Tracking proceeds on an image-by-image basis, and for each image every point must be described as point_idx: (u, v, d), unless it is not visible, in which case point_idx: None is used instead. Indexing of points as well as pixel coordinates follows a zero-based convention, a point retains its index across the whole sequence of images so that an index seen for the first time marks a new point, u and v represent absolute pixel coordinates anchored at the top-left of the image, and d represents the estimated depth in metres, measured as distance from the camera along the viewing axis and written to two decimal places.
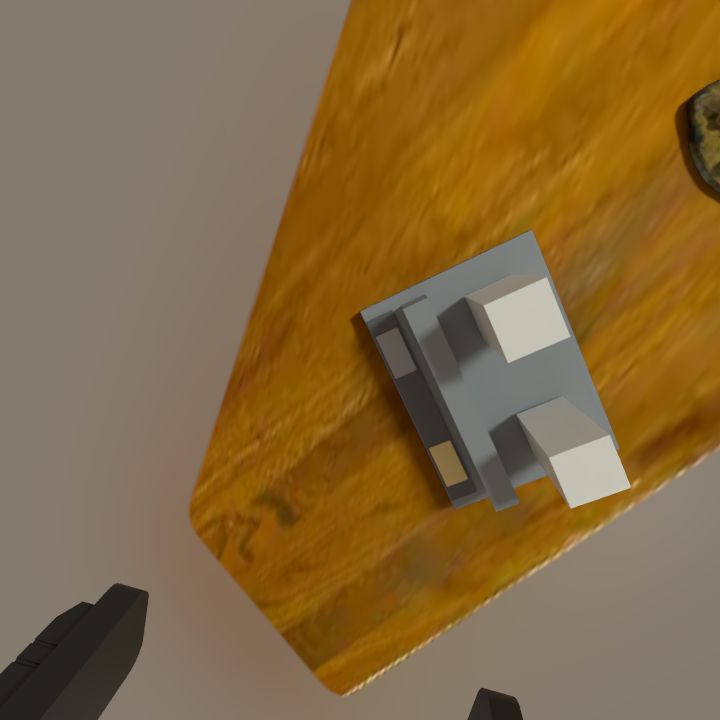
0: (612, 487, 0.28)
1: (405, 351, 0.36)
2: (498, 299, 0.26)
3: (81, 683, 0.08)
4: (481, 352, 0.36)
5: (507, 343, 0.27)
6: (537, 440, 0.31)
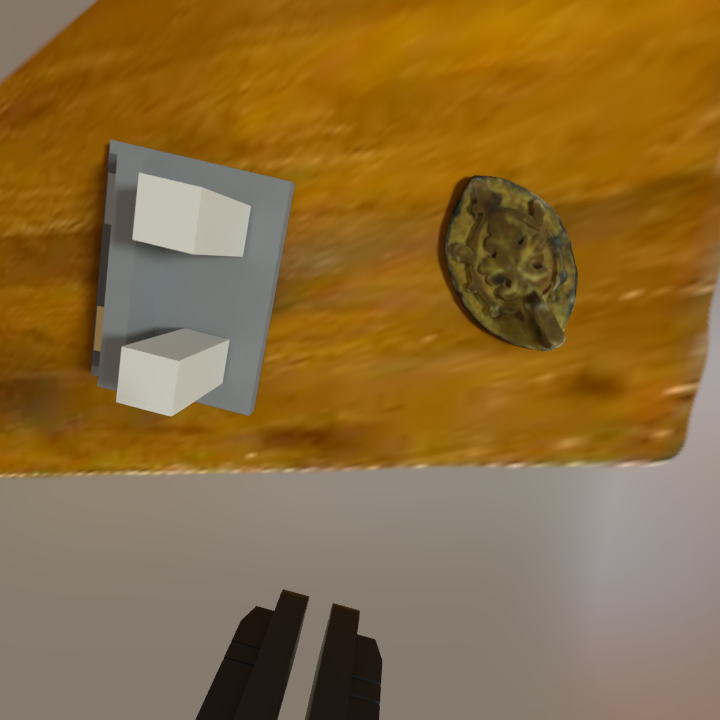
0: (157, 406, 0.29)
1: None
2: (154, 176, 0.26)
3: (285, 680, 0.09)
4: (190, 255, 0.35)
5: (140, 221, 0.26)
6: (147, 339, 0.31)
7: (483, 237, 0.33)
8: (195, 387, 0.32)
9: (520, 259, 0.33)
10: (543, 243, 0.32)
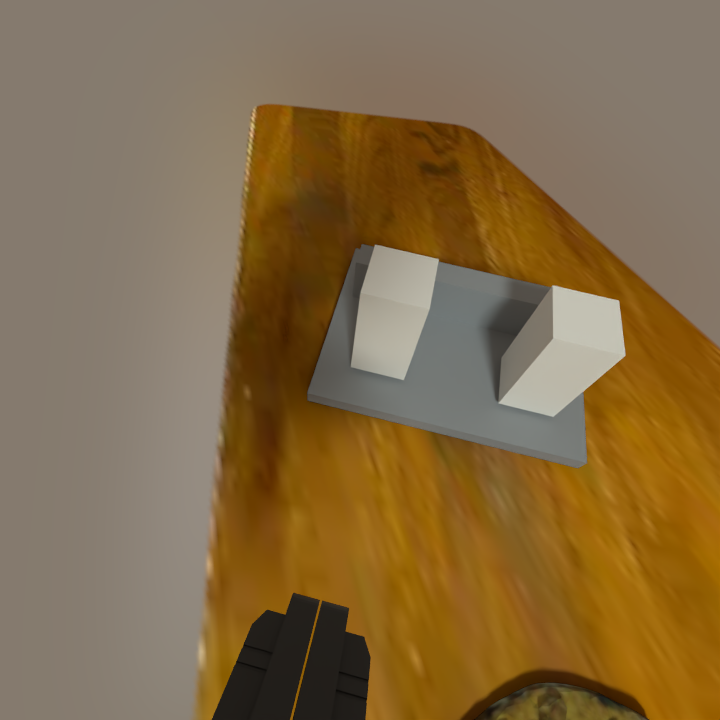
0: (372, 280, 0.25)
1: None
2: (619, 313, 0.25)
3: None
4: (488, 351, 0.34)
5: (572, 295, 0.25)
6: None
7: None
8: (375, 328, 0.27)
9: None
10: None
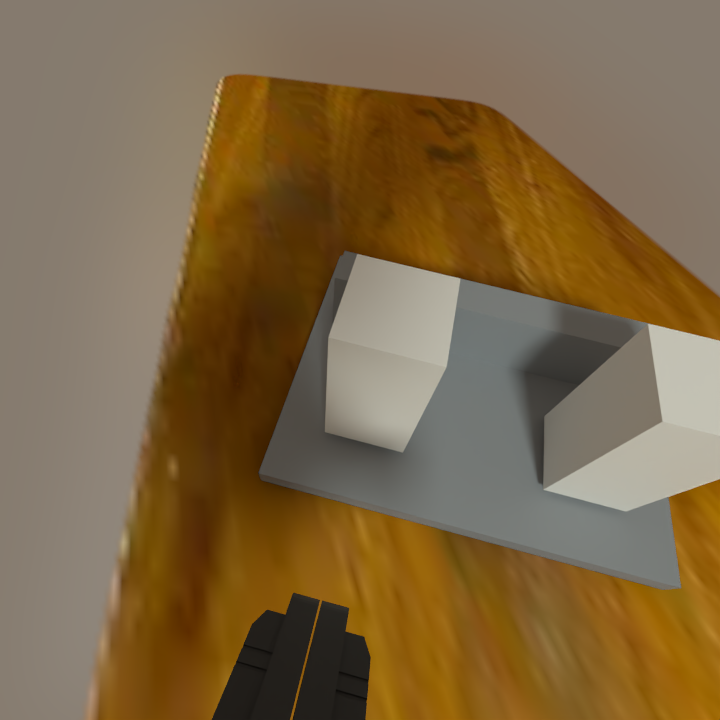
0: (349, 316, 0.15)
1: None
2: None
3: None
4: (524, 405, 0.23)
5: (682, 340, 0.15)
6: None
7: None
8: (357, 388, 0.17)
9: None
10: None
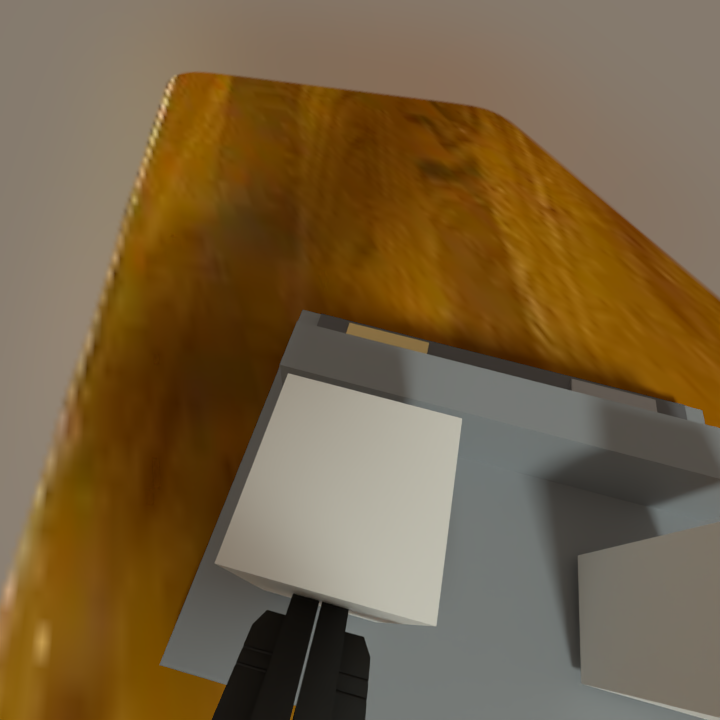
0: (260, 509, 0.08)
1: None
2: None
3: None
4: (548, 535, 0.17)
5: None
6: None
7: None
8: (290, 591, 0.10)
9: None
10: None
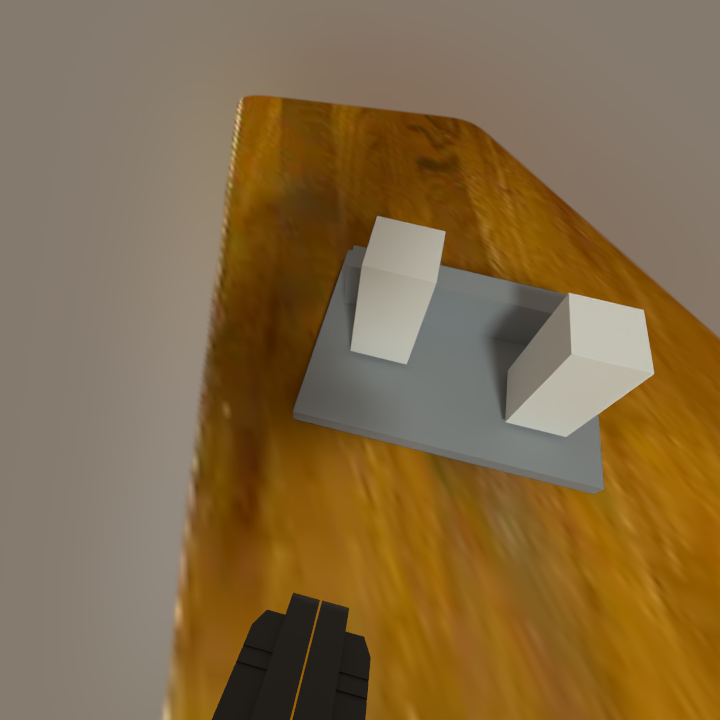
0: (374, 253, 0.23)
1: None
2: (645, 324, 0.22)
3: None
4: (493, 363, 0.31)
5: (591, 303, 0.22)
6: None
7: None
8: (377, 306, 0.25)
9: None
10: None
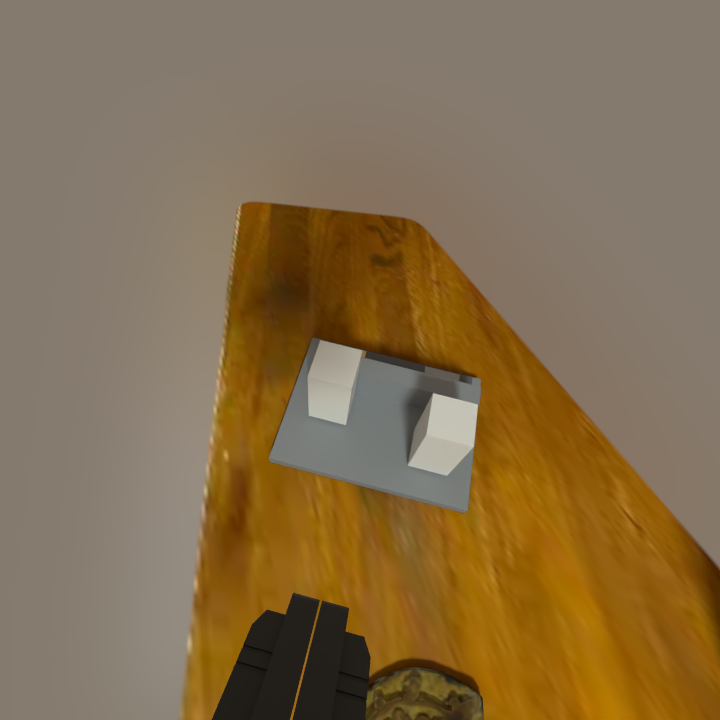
0: (316, 367, 0.38)
1: None
2: (476, 414, 0.37)
3: None
4: (405, 423, 0.45)
5: (445, 400, 0.37)
6: (359, 366, 0.41)
7: (428, 712, 0.33)
8: (320, 395, 0.40)
9: None
10: None
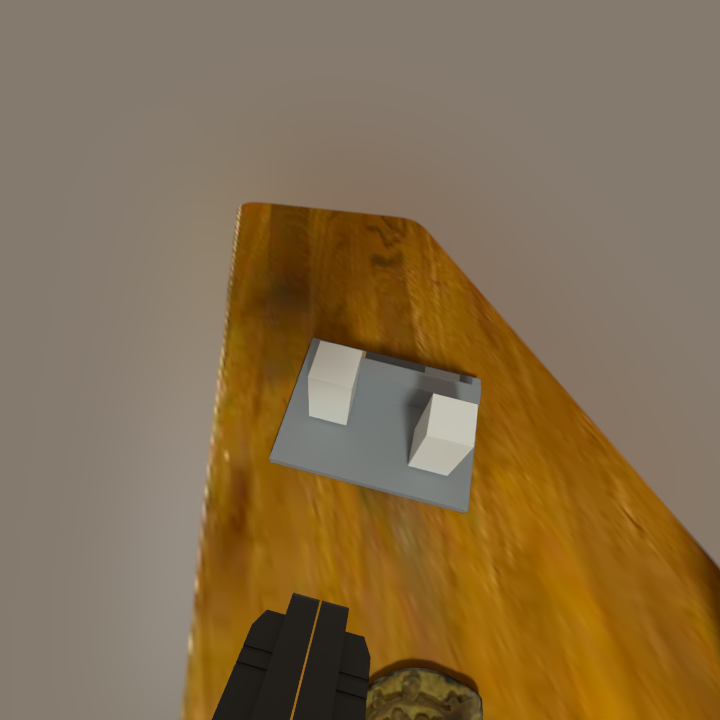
0: (316, 368, 0.38)
1: None
2: (476, 414, 0.37)
3: None
4: (406, 423, 0.45)
5: (446, 400, 0.37)
6: (359, 366, 0.41)
7: (427, 713, 0.33)
8: (321, 396, 0.40)
9: None
10: None
